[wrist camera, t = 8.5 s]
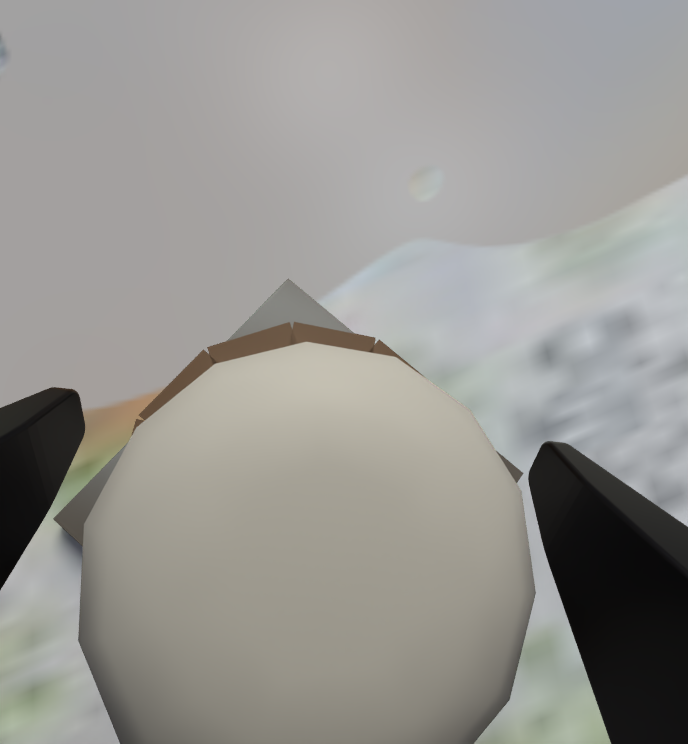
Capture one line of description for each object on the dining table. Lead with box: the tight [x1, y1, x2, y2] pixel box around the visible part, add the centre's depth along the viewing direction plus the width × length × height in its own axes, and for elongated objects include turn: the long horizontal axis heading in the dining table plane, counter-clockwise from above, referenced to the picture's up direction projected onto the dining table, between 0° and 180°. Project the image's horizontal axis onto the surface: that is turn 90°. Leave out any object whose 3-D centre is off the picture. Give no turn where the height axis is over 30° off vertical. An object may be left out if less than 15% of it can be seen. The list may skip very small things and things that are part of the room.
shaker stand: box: [54, 279, 523, 546], centre depth 16 cm, size 12×12×3 cm
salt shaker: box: [78, 342, 536, 744], centre depth 10 cm, size 6×6×13 cm
